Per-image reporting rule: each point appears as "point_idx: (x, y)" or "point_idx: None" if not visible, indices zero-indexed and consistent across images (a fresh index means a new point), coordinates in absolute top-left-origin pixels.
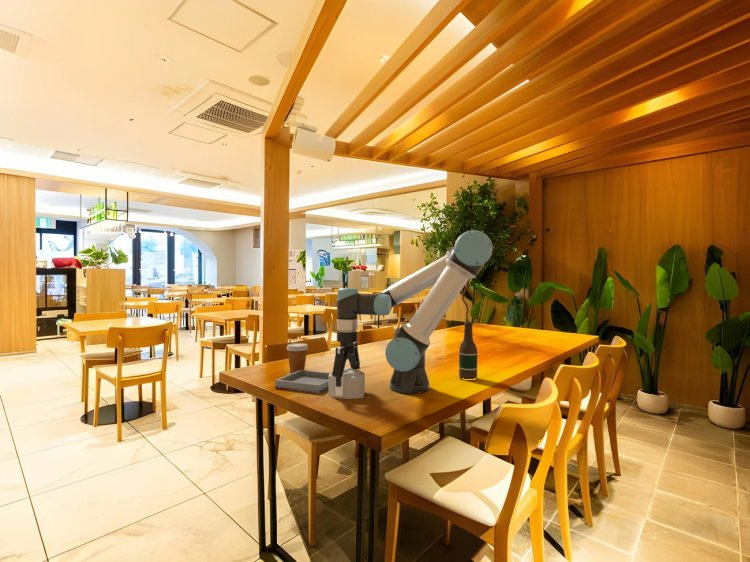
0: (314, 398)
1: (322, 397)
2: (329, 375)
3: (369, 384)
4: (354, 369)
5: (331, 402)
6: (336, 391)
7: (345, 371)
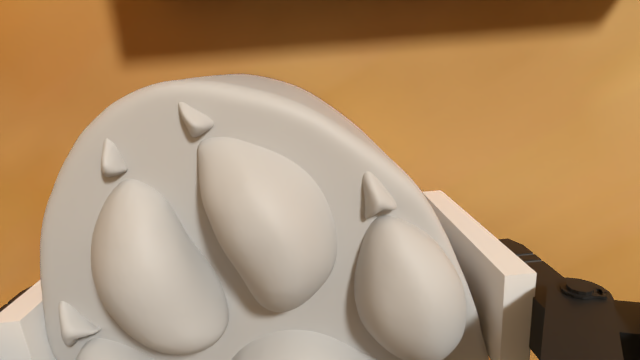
0: (17, 35)
1: (88, 88)
2: (75, 144)
3: (617, 256)
4: (517, 337)
5: (30, 230)
6: None
7: (359, 278)
